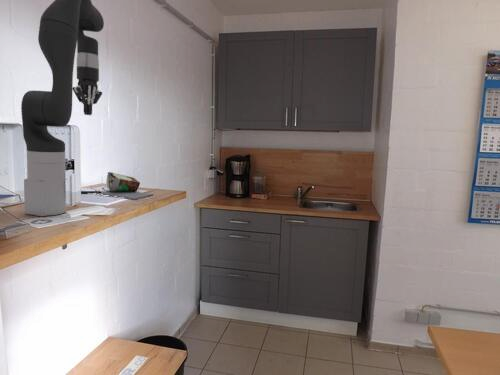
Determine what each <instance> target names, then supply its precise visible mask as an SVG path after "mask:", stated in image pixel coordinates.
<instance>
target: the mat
mask: <svg viewBox="0 0 500 375" xmlns="http://www.w3.org/2000/svg"><path fill="white" fill-rule="evenodd" d="M100 192H101V193H96V192H95V193H96V194H103V195H109V196H108V197H110V196H117V197H124V198H123V199H125V198H127V199H126V200H134V201H135V200H139V199H144V198H149V197H153V196H154V193H147V192H138V191H136V192H130V191H119V190H115V191H111V190H109V189H107V190H101V191H100ZM117 197H116V198H117Z"/></svg>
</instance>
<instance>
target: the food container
mask: <svg viewBox="0 0 500 375" xmlns="http://www.w3.org/2000/svg"><path fill="white" fill-rule="evenodd" d="M140 184H141V182H140V181H139V180H138V179H136V178H135V177H132V176H128V175H124V174H119V173H114V172H111V171H108V172H107V176H106V188H107V190H111V191H115V190H119V191H130V192H138V190H139V187H140Z"/></svg>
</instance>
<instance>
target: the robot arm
mask: <svg viewBox="0 0 500 375" xmlns="http://www.w3.org/2000/svg"><path fill="white" fill-rule="evenodd" d="M104 26H105V23H104V18H103V16H102V14H101V12H100V10H99V9H98V8H97V7H96V6H95V5H94V4H93V2H92V0H54V1H53V2H52V3H50V4H49V6H47V7H46V9H45V10H44V11H43V12H42V15H41V16H40V21H39V27H38V29H39V30H38V37H37V38H38V39H37V40H38V46H39V47H40V50H41V52H42V54H43V56H44V58H45V59H46V62H47V63H48V65H49V68H50V70H51V74H52V87H51V91H49V90H48V91H47V90H28V91H27V92H25V93H24V95H23V97H22V99H21V105H20V106H21V107H20V108H21V111H20V112H21V119H22V134H23V135H22V136H23V139H24V142H25V144H26V145H25V146H26V172H27V174H26V177H27V178H25V179H24V180H23V189H24V190H23V192H24V193H23V195H24V214H25V215H31V216H38V217H44V216H55V215H61V214H65V213H66V211H67V207H66V205H67V198H66V196H67V195H66V192H67V191H66V189H67V188H66V185H67V184H66V143H65V141H63V140H62V139H60V138H57V137H55V136H54V135H52V134H51V133H50V132H49V129H48V127H66V126H67V125H68V124H69V122H70V120H71V118H72V114H73V113H72V112H73V93H74V94H75V97H76V98H77V100H78V102H79V103H81V104H82V105H83V115H86V116H92V114H93V105H96V104H97V103H98V101H99V100H100V98H101V97H102V95H103V92H102V91H100V90H99V86H98V82H99V80H100V63H99V62H100V60H99V42H98V40H97V39H96V38H94V37H92V36H91V37H90V36H88V35H85V33H84V32H85V31H86V32H92V33H93V32H94V33H99V32H101V31H102V30H103V29H104ZM76 48H77V49H76ZM76 52H77V55H76ZM75 56H76V79H77V80H78V82H77V85H76V86H74V87H73V85H74V84H73V80H74V65H75Z"/></svg>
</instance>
